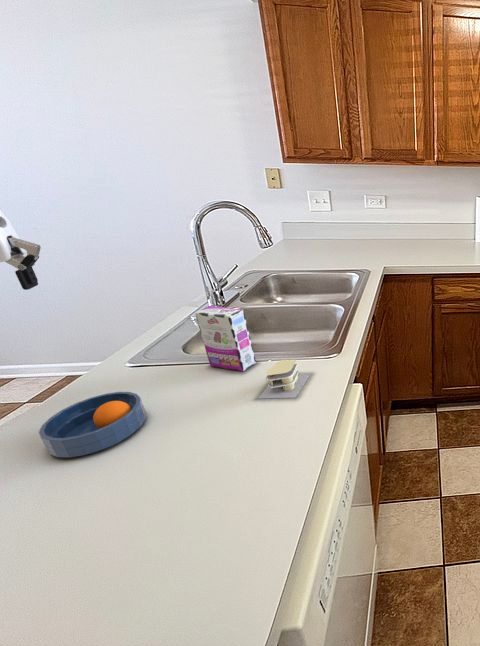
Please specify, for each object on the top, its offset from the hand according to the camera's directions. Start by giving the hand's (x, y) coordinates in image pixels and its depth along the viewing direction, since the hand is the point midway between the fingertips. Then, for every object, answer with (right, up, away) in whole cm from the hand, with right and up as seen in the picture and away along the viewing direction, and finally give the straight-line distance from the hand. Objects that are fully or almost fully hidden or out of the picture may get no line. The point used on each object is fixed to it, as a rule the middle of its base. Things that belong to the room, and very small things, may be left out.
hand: (0, 290), depth 78 cm
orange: (+17, -26, +5) cm, 32 cm away
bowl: (+14, -30, +6) cm, 34 cm away
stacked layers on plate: (+46, -24, +22) cm, 56 cm away
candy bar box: (+27, -20, +31) cm, 46 cm away
